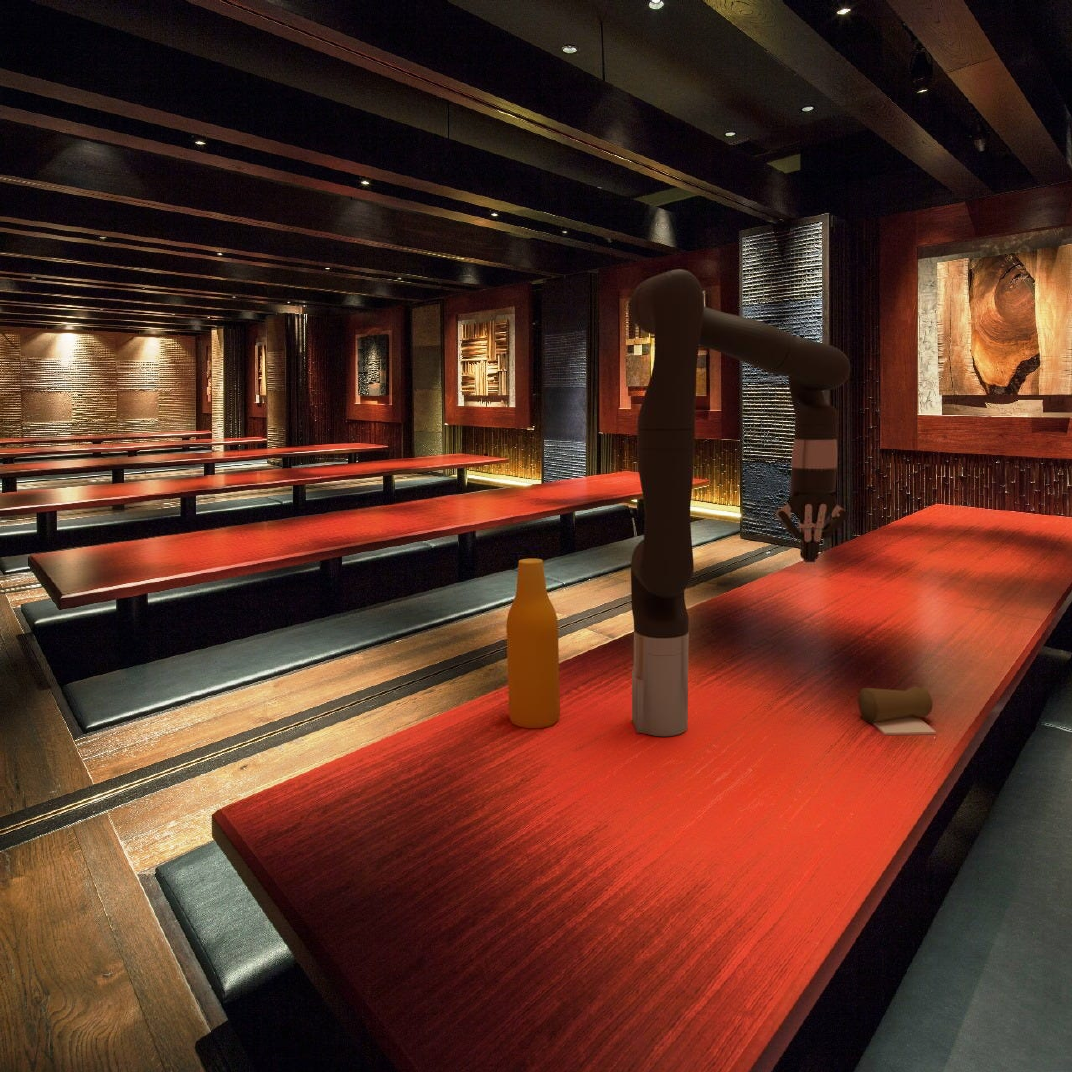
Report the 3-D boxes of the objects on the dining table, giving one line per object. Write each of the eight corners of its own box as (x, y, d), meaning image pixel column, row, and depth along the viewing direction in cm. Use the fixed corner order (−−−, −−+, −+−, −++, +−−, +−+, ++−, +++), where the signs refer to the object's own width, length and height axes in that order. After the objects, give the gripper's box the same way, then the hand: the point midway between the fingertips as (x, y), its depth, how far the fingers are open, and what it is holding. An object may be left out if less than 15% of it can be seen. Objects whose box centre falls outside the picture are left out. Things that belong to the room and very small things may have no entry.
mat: (884, 734, 125) (884, 732, 125) (859, 711, 134) (859, 708, 134) (935, 734, 124) (936, 731, 124) (907, 710, 134) (907, 708, 134)
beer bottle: (504, 728, 131) (498, 565, 126) (514, 707, 140) (509, 555, 135) (556, 730, 129) (553, 566, 124) (563, 709, 138) (560, 555, 133)
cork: (854, 696, 134) (912, 692, 135) (866, 728, 130) (925, 724, 131) (869, 681, 129) (928, 678, 130) (881, 715, 125) (942, 711, 126)
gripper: (782, 467, 128) (778, 566, 131) (860, 466, 128) (854, 565, 131) (770, 464, 136) (766, 557, 139) (843, 463, 135) (838, 557, 138)
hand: (809, 561), depth 135 cm, fingers closed
